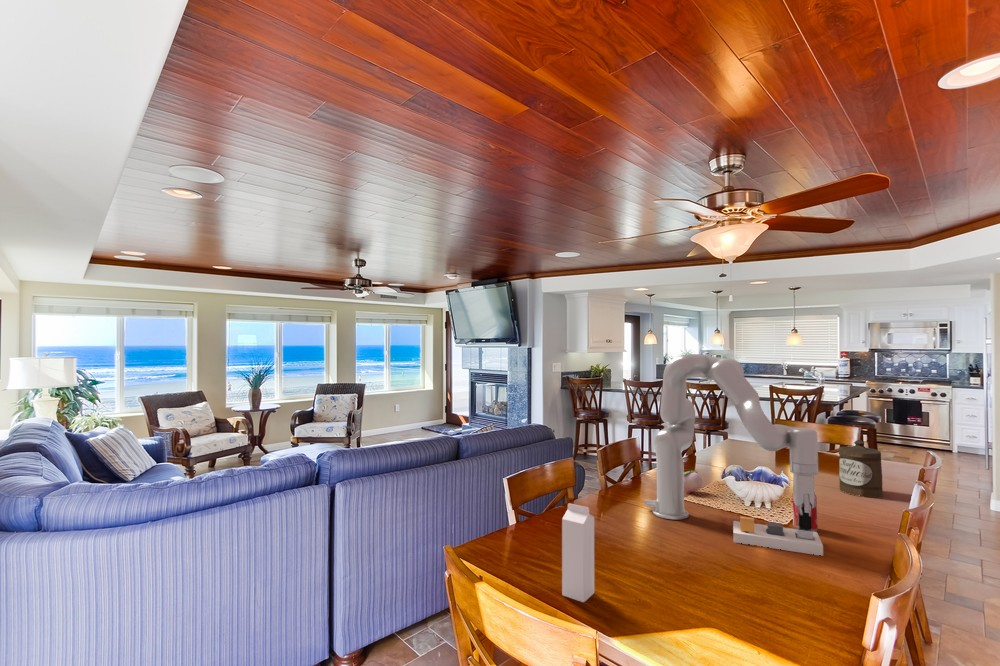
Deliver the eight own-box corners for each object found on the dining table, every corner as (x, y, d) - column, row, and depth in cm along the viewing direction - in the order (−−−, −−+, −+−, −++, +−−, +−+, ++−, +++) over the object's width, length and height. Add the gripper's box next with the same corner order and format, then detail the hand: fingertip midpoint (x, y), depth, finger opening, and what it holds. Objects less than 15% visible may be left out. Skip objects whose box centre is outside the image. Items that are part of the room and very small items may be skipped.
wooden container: (831, 489, 215) (831, 438, 215) (852, 485, 221) (851, 436, 222) (869, 499, 201) (868, 445, 202) (890, 495, 208) (889, 442, 208)
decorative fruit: (695, 497, 204) (695, 472, 204) (676, 492, 210) (676, 469, 210) (706, 492, 210) (706, 469, 210) (687, 488, 216) (687, 465, 216)
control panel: (733, 542, 157) (733, 532, 157) (733, 529, 168) (733, 520, 168) (823, 556, 147) (823, 545, 147) (817, 541, 158) (816, 532, 158)
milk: (573, 586, 128) (573, 499, 129) (595, 593, 124) (594, 504, 125) (561, 595, 123) (561, 505, 124) (583, 603, 119) (583, 510, 120)
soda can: (821, 533, 164) (820, 494, 164) (797, 532, 166) (796, 492, 166) (812, 526, 171) (811, 488, 171) (789, 524, 172) (789, 487, 173)
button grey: (797, 541, 153) (797, 529, 153) (796, 536, 156) (796, 525, 157) (813, 543, 151) (813, 531, 151) (811, 538, 155) (811, 527, 155)
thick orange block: (740, 538, 158) (740, 517, 158) (740, 537, 159) (740, 516, 160) (754, 540, 156) (754, 519, 156) (754, 539, 158) (754, 518, 158)
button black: (768, 536, 156) (768, 525, 156) (767, 532, 160) (767, 521, 160) (783, 538, 155) (782, 527, 155) (781, 534, 158) (781, 523, 158)
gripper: (787, 462, 163) (788, 518, 162) (792, 472, 149) (793, 534, 149) (814, 464, 160) (815, 522, 159) (822, 475, 146) (823, 538, 145)
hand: (805, 527), depth 154 cm, fingers closed
